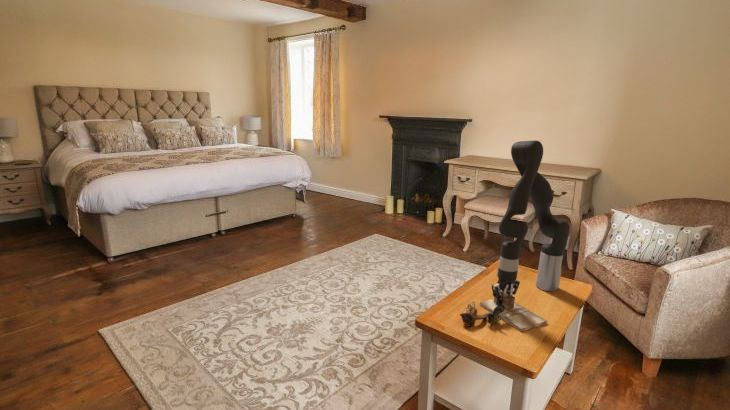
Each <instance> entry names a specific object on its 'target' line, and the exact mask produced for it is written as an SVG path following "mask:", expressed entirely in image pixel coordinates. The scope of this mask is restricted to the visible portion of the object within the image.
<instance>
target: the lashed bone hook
mask: <svg viewBox="0 0 730 410" xmlns="http://www.w3.org/2000/svg"><path fill="white" fill-rule="evenodd" d="M475 311H476V303H475V301H473V300H469V301H468V302H467V303H466V306H465V309H464V312H462V313H459V316H460V317H461V321H462V323H463V326H464V327H465V328H470V327H472V324H473V320H474V321H480V320H481V321H482V320H484V319H485V318H486V317H485V316H484V315H485V314H486V313H484V314H475Z"/></svg>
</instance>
